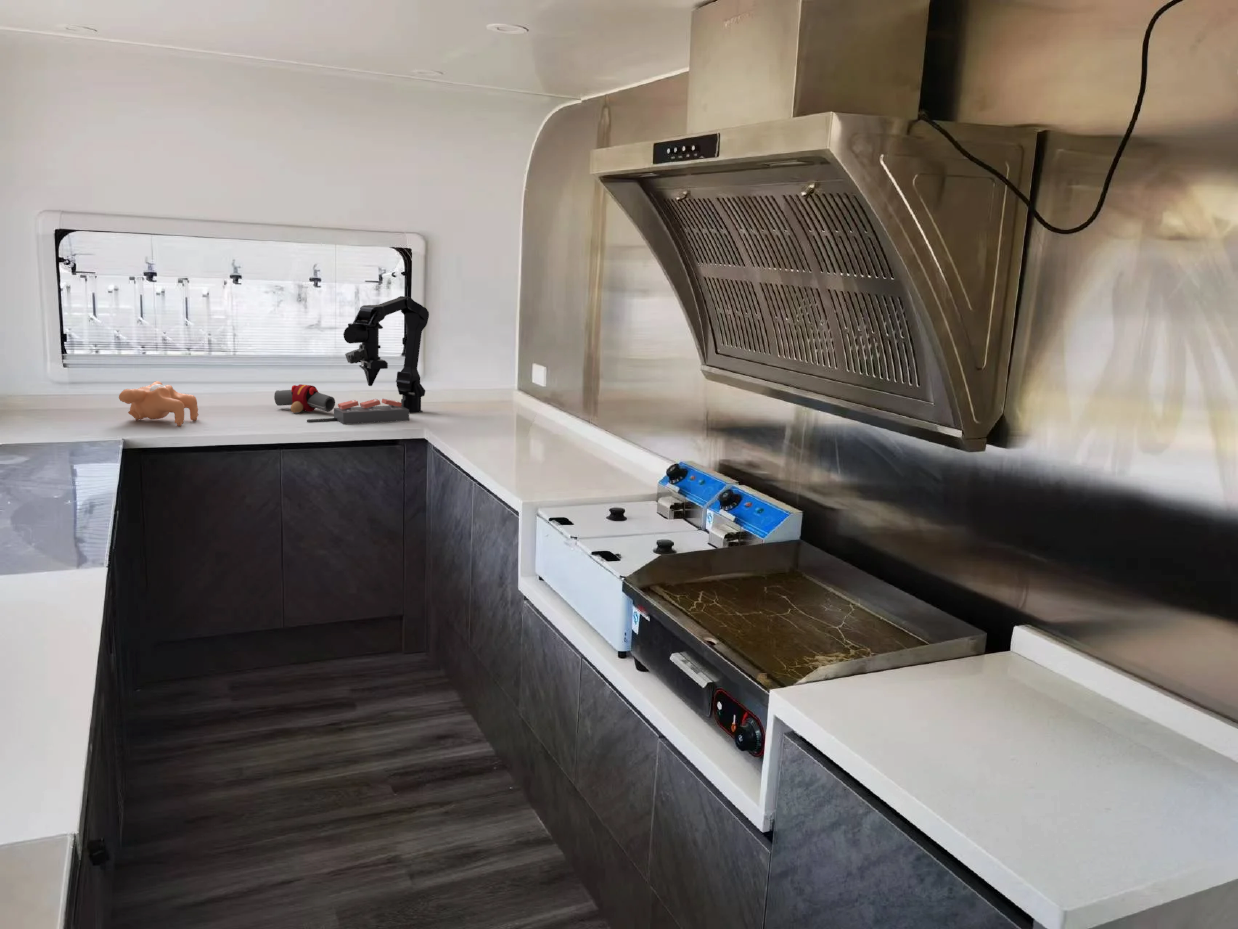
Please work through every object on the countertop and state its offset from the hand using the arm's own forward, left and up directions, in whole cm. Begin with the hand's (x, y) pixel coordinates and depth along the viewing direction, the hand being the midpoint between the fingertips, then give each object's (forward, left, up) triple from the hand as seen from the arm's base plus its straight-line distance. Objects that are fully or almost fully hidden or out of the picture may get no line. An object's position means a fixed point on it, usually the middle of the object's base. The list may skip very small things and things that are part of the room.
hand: (370, 385), depth 343 cm
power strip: (+5, +2, -12) cm, 13 cm away
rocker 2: (0, 0, -6) cm, 6 cm away
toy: (+16, -22, -12) cm, 30 cm away
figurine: (+66, -15, -12) cm, 69 cm away
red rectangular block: (-8, 0, -6) cm, 10 cm away
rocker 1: (+8, 0, -6) cm, 10 cm away
